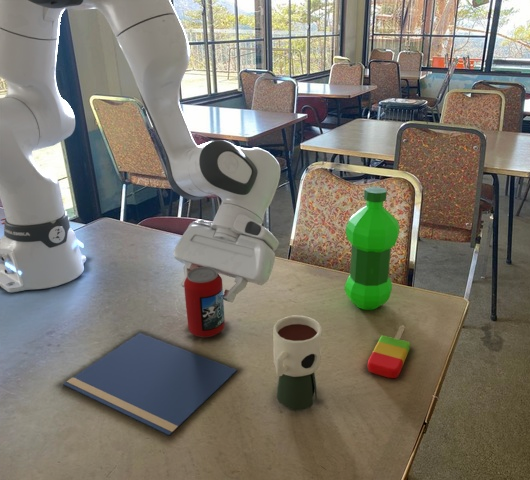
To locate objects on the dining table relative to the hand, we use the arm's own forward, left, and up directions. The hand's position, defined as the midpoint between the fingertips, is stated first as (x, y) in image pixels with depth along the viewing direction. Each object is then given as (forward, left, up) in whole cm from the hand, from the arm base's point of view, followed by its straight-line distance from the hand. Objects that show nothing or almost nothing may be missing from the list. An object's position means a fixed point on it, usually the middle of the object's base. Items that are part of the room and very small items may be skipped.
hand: (206, 294), depth 88 cm
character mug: (+24, -8, -8) cm, 27 cm away
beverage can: (0, 0, -8) cm, 8 cm away
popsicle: (+33, +10, -8) cm, 35 cm away
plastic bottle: (+23, +24, -8) cm, 34 cm away
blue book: (+1, -15, -7) cm, 17 cm away
